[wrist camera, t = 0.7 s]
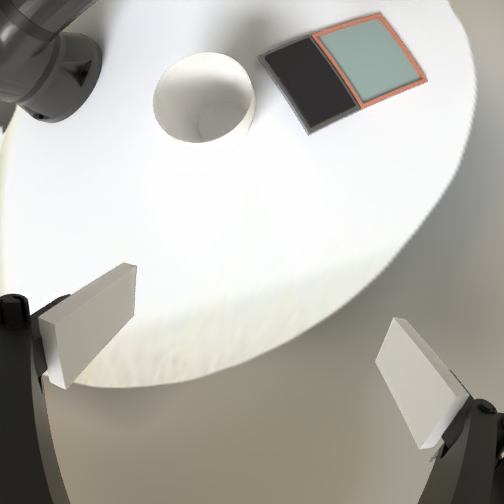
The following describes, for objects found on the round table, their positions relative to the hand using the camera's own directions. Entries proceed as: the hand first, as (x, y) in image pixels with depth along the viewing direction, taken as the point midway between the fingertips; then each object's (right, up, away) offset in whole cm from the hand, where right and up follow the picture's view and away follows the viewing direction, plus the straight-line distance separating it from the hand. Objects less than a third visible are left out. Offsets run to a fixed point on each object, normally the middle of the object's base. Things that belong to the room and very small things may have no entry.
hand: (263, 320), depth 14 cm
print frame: (+15, +29, +16) cm, 37 cm away
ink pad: (+7, +24, +18) cm, 31 cm away
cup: (-4, +19, +20) cm, 28 cm away
